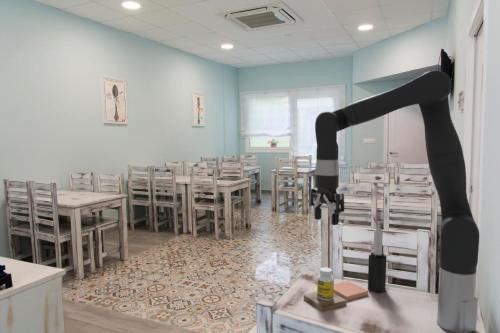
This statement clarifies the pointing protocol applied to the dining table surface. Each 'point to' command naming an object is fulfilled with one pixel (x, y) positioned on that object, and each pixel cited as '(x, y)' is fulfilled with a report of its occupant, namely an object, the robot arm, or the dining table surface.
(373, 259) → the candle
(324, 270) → the supplement bottle
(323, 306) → the walnut mat
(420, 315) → the dining table surface
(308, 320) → the dining table surface
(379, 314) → the dining table surface
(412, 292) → the dining table surface
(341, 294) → the terracotta tile
